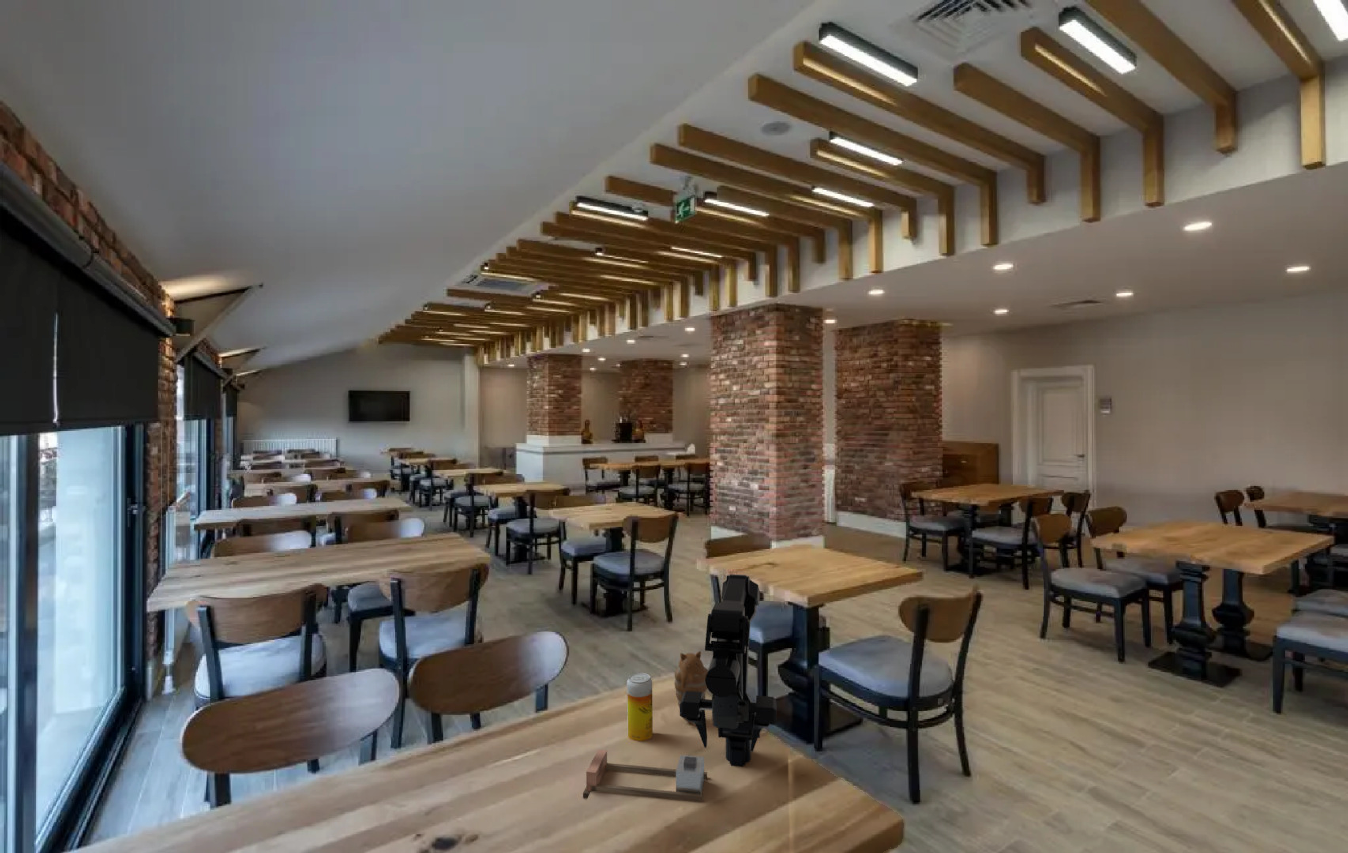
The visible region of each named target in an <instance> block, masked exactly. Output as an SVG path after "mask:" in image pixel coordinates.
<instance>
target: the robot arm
mask: <svg viewBox="0 0 1348 853" xmlns="http://www.w3.org/2000/svg"><path fill="white" fill-rule="evenodd" d="M721 588H722V589H721V601H720V602H718V603H716V604H714V605H713V607H712V608H711V613H708V614H707V622H706V633H705V645H704V651H705V652H712V659H711V661H710V663H709V666H708V668H707V670H708V672H707V674H706V678H705V683H706V686H707V690H708V691H709V692H710V693H711V694H712V696H711V699H707V698H705V699H703V693H702V692H694V691H685V692H684V694H683V696H682V699H681V702H680V708H679V716H680V717H681V718H682V719H683V718H687V721H691V722H690V723H693V724H694V725H695V727H696V729H697V731H698V733H699V737H700V739H701V742H702V745H703V747H704V748H705V749H706V748H707V747H708V732H707V731H708V730H707V721H706V718H707V717H706V711H711V715H712V718H711V719H712V726H713V727H714V728H715V729H717V735H718V736H717V737H718V738H719V739H721V738H724V739H725V759H726V760H727V761H728V762H729V764H730V766H731V767H738V768H739V767H742V768H743V767H744V766H746V764H747V763H749V762H750V761H751V759H752V752H754V750H755V747H756V744H757V741H758V739H760V737H761V731H762V730H763V729H764V728H768V727H770V725H775V724H777V699H776V698H775V697H774V696H770V695H769V696H766V695H756V700H755V702H754V701H753V700H752V698H751V696H750V694H749V692H748V685H749V684H748V682H749V681H748V680H749V679H748V678H749V651H750V650H749V648H750V637H751V636H750V634H751V622H752V620H753V619H754V618H755V616H756V614H757V607H759V606H760V599H761V597H760V595H761V594H760V587H759V584H758V583H756V582H755V581H752V580H751V579H750V576H749V575H746V574H732V573H730V574H729V575H726V578H725V580H724V581H723V582H722V585H721ZM711 639H715V640H711ZM716 639H718V640H716ZM687 721H686V722H687Z"/></svg>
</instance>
